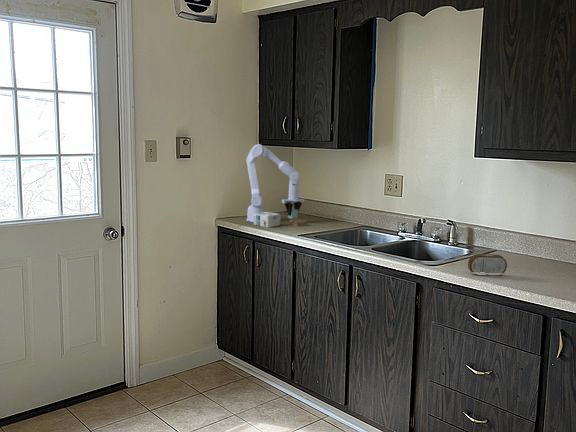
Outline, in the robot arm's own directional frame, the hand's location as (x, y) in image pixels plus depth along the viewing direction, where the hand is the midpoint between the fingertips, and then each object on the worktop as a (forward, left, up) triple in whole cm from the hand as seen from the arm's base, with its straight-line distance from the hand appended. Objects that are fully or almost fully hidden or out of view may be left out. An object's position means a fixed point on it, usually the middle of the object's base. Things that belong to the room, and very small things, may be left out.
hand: (292, 215), depth 346 cm
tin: (+134, -2, -5) cm, 134 cm away
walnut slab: (+8, -2, -5) cm, 10 cm away
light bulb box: (+7, -17, -1) cm, 18 cm away
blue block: (0, 0, -2) cm, 2 cm away
